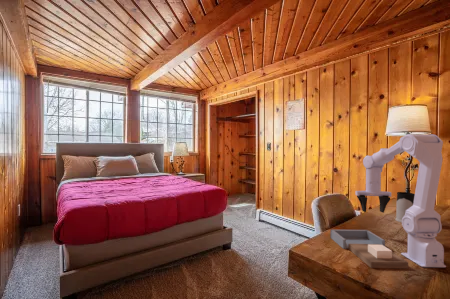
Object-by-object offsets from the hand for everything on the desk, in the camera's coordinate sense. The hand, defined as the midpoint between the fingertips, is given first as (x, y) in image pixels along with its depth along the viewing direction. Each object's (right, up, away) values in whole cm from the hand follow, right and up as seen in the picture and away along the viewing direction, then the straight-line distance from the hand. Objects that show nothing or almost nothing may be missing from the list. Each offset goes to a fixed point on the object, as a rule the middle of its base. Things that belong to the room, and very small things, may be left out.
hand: (372, 211), depth 105 cm
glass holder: (+32, -10, +20) cm, 39 cm away
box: (-14, -10, -11) cm, 20 cm away
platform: (-14, -10, -23) cm, 29 cm away
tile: (-14, -8, -25) cm, 30 cm away
